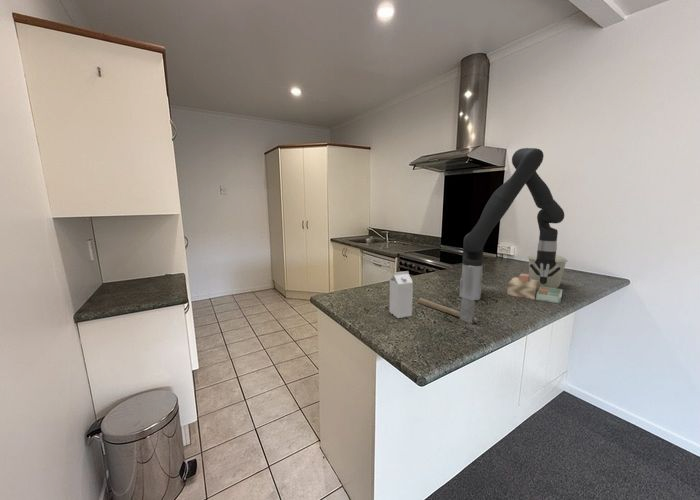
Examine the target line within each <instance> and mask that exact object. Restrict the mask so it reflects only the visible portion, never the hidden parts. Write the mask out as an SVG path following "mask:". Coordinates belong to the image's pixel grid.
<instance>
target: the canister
mask: <svg viewBox="0 0 700 500" xmlns="http://www.w3.org/2000/svg"><path fill="white" fill-rule="evenodd" d="M527 259H528V270H529V272H528V274H530V276H529V279H531V280H539V287H540V286H542V287H549V288H556V289H559V286H560V285H561V282H562V279H563V275H564V271H565V267H566V263H567V262H568V259H567V258H565V257H564V256H561V255H557V254H556V258H555V262H556V265H557V266H559V267H561V269H560V270H559V271H558V272H556V273H555V274H554V275H553V276H551V277H547V283H545V284H541V283H540V276H539V275H536V273H535V272H534V271H533V269H532V268H531V267H530V264H533V263H535V261H536V259H537V253H536V254H535V253H534V254H530V255H529V256H527ZM554 268H555V266H554V267H553V268H552V269H551V270H549V272H548V274H550V273H551V272H552V271H554V270H555V269H554ZM536 269H537V270H538V271H539V272H540V269H539V268H538V266H537V265H536ZM544 275H545V270H544Z"/></svg>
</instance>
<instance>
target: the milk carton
mask: <svg viewBox="0 0 700 500" xmlns="http://www.w3.org/2000/svg"><path fill="white" fill-rule="evenodd" d="M409 273H410V272H409V270H406V271H396V272H393V274H392V275H393V276H391V278H390V279H389V313H390V314H391V315H392V314H393V315H392V316H394V317H395V318H396V319H401V318H408V317H412V316H413V295H414V292H413V291H414V290H413V288H414V285H413V284H414V282H413V279H412V277H411V276H410V274H409Z"/></svg>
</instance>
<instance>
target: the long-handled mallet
mask: <svg viewBox="0 0 700 500" xmlns="http://www.w3.org/2000/svg"><path fill="white" fill-rule="evenodd" d="M475 301H476V300H471V299H467V298H464V297H461V304H460V310H456V309H453V308H450V307H447V306H444V305H442V304H438V303H436V302H435V301H434V302H433V301H430V300H428V299H425V298H422V297H419V298H418V301H417V302H418V304H420V305H422V306H427V307H428V308H431V309H434V310H437V311H441V312H443V313H446V314H449V315H452V316H454V317H457V318H459V320H461V321H463V322H466V323H468V324H475V323H477V322H478V318H477V317H476V302H475Z"/></svg>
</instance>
